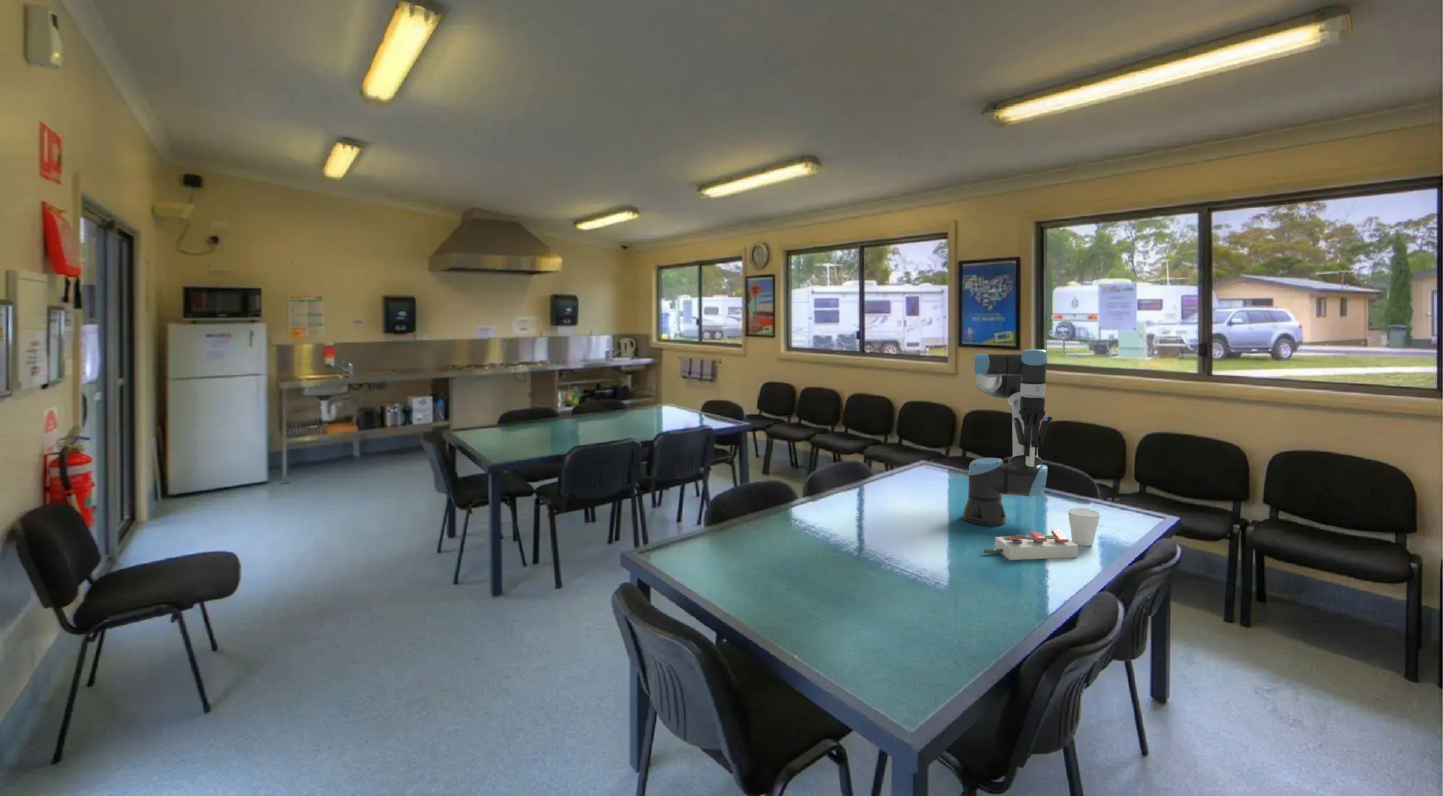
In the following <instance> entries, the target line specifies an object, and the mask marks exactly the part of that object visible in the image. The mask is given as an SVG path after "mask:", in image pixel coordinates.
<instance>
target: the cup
mask: <svg viewBox="0 0 1443 796" xmlns="http://www.w3.org/2000/svg"><path fill="white" fill-rule="evenodd" d="M1066 511H1067V513H1068V514H1067V515H1068V520H1069V528H1070V533H1071V534H1070V535H1071V541H1072V542H1073V543H1075V544H1077V545H1078V546H1081V547H1090V546H1091V547H1092V545H1094V542H1095V537H1096V533H1097V529H1098V525H1099V521H1100V519H1101V518H1100V517H1101V516H1102V513H1101V512H1100V511H1098V510H1095V509H1093V508H1092V509H1091V508H1086V507H1069V508H1067V509H1066Z"/></svg>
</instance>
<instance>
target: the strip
mask: <svg viewBox="0 0 1443 796" xmlns="http://www.w3.org/2000/svg"><path fill="white" fill-rule="evenodd" d="M1043 535H1044V536H1045V537H1046V538H1047V542H1038V541H1037V540H1035V539H1034V538H1033V537H1032V536H1030V535H1025V539H1013V540H1009V536H995V537H994V538H995V540H994V548H989V549H988V548H985V549H983V550H982V553H983V554H994V553H995V554H998V553H999V554H1001V555H1002V556H1004V557H1005V558H1007V559H1008V560H1009V561H1017V560H1020V561H1021V560H1042V559H1043V560H1044V559H1047V560H1048V559H1069V558H1070V559H1071V558H1078V553H1079V552H1078V550H1079V545H1077V544H1075V543H1073V542H1072V540H1070V539H1069V540H1068V542H1062V543H1059V542H1058V541H1057V539H1056V538H1055V537H1054V535H1053V534H1047V535H1046V534H1043Z"/></svg>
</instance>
